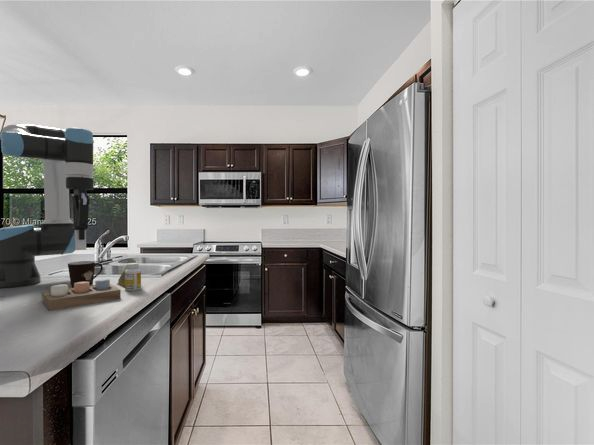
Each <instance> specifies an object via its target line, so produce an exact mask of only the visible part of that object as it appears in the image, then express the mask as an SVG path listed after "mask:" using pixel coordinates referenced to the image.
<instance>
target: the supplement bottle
mask: <svg viewBox="0 0 594 445" xmlns="http://www.w3.org/2000/svg"><path fill="white" fill-rule="evenodd" d="M126 266H127V268H128V269H127V270H125V286H124V290H125V291H127V292H132V291H133V292H135V291H138V290H141V289H142V271H141V269H140V268H139V267H140V264H139V262H137V263H129V262H128V263H126Z"/></svg>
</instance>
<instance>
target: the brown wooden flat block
mask: <svg viewBox="0 0 594 445" xmlns="http://www.w3.org/2000/svg"><path fill="white" fill-rule="evenodd" d="M89 287H90V292H83V293H76V294H74V288H71V287H70V288H69V287H68V295H63V296H56V297H52V296H51V290H46V291H41V300H42V301H41V302H42V303H43V304H44V305H45V307H46V308H47V309H48V311H54V310H60V309H67V308H73V307H79V306H83V305H84V306H85V305H89V304H90V305H91V304H97V303H103V302H109V301H115V300H120V299H121V296H122V295H121V293H122V292H121V291H122V290H121V289H120V288H118V287H116V286H114V285H113V284H111V283H110V289H104V290H97V291H96V290H95V284H93V285H90V286H89Z"/></svg>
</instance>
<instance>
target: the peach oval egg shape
mask: <svg viewBox="0 0 594 445" xmlns="http://www.w3.org/2000/svg"><path fill="white" fill-rule="evenodd" d="M83 292H90V287H89V282H77V283H74V294H76V293H83Z"/></svg>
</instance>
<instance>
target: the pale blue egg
mask: <svg viewBox="0 0 594 445" xmlns="http://www.w3.org/2000/svg"><path fill="white" fill-rule="evenodd" d="M110 280H111V279H110V278H104V279H103V278H100V279H96V280H95V281H94V282H95V284H94V285H95V290H96V291H97V290H104V289H110V284H111V281H110Z"/></svg>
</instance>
